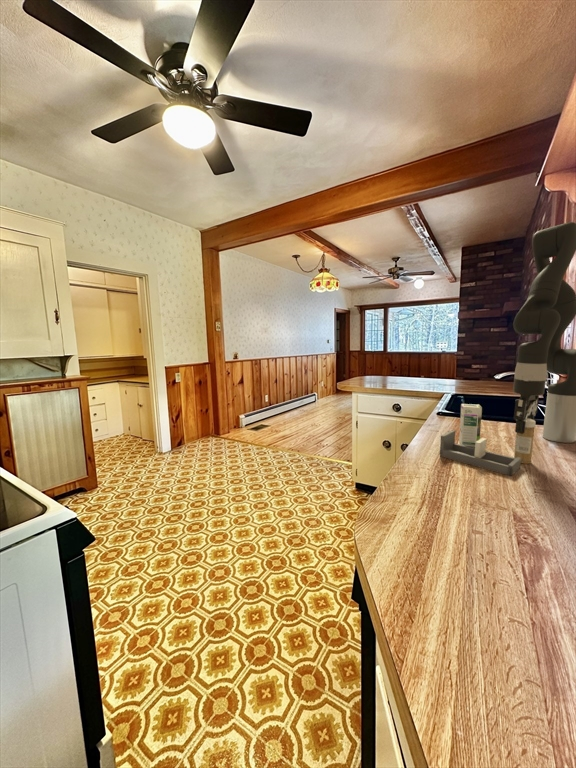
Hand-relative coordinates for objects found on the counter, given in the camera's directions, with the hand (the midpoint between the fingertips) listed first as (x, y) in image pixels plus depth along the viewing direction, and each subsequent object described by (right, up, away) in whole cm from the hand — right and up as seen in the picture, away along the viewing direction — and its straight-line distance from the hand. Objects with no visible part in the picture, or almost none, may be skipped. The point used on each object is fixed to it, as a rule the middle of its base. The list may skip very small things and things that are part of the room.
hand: (524, 430), depth 96 cm
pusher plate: (-13, -8, +2) cm, 15 cm away
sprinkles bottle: (+1, -10, +2) cm, 10 cm away
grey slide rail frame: (-13, -10, +2) cm, 16 cm away
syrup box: (-7, -8, +17) cm, 20 cm away
